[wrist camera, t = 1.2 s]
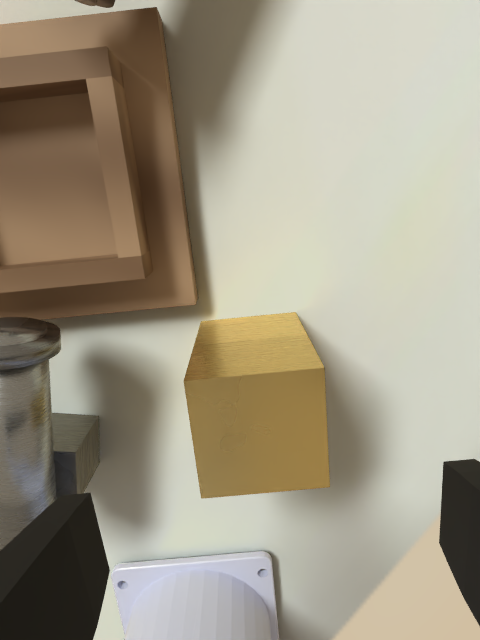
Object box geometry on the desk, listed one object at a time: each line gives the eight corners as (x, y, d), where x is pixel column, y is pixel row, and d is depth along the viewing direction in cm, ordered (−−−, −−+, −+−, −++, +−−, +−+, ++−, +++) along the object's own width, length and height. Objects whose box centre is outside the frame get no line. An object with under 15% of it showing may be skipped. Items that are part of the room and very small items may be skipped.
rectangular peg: (300, 397, 19) (329, 487, 13) (212, 406, 19) (201, 498, 13) (295, 312, 17) (324, 367, 12) (201, 321, 17) (183, 380, 12)
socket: (198, 298, 17) (191, 314, 15) (-39, 322, 17) (-83, 341, 15) (161, 20, 14) (146, -17, 12) (-120, 51, 15) (-190, 21, 12)
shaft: (18, 296, 17) (-82, 340, 12) (96, 301, 17) (32, 347, 12) (30, 463, 19) (-49, 565, 14) (99, 467, 19) (47, 569, 14)
